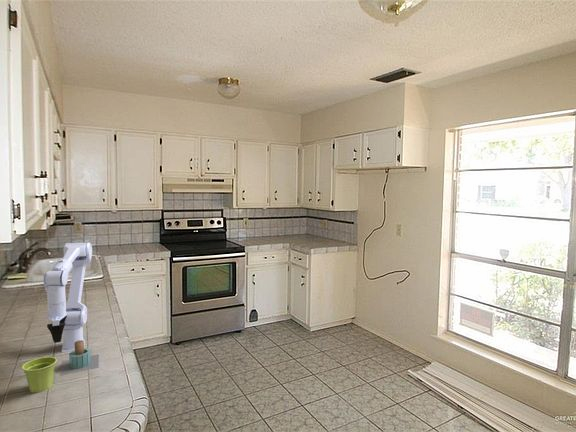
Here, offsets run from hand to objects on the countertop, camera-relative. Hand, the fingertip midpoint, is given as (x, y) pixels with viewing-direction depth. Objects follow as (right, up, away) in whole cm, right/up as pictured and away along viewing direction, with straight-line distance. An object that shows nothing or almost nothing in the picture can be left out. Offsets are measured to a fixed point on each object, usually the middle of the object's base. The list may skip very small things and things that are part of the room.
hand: (58, 338), depth 136 cm
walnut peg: (+8, -9, -1) cm, 12 cm away
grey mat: (+9, -10, 0) cm, 13 cm away
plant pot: (+5, -11, -16) cm, 20 cm away
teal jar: (+9, -10, 0) cm, 13 cm away
